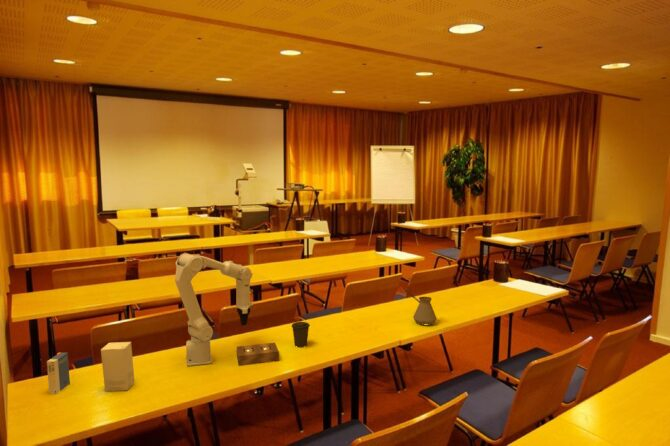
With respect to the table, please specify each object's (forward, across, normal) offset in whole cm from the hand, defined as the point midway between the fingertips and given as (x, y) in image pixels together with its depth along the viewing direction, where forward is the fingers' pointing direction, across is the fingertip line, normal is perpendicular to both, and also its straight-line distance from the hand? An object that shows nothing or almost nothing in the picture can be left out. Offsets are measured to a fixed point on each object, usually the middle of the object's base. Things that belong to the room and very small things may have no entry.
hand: (243, 324), depth 196 cm
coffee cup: (+10, -5, -24) cm, 27 cm away
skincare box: (+10, -25, +46) cm, 53 cm away
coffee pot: (+10, +10, -88) cm, 89 cm away
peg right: (+10, -14, -7) cm, 19 cm away
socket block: (+10, -14, -4) cm, 18 cm away
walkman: (+10, -20, +66) cm, 70 cm away
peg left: (+10, -14, -1) cm, 17 cm away
